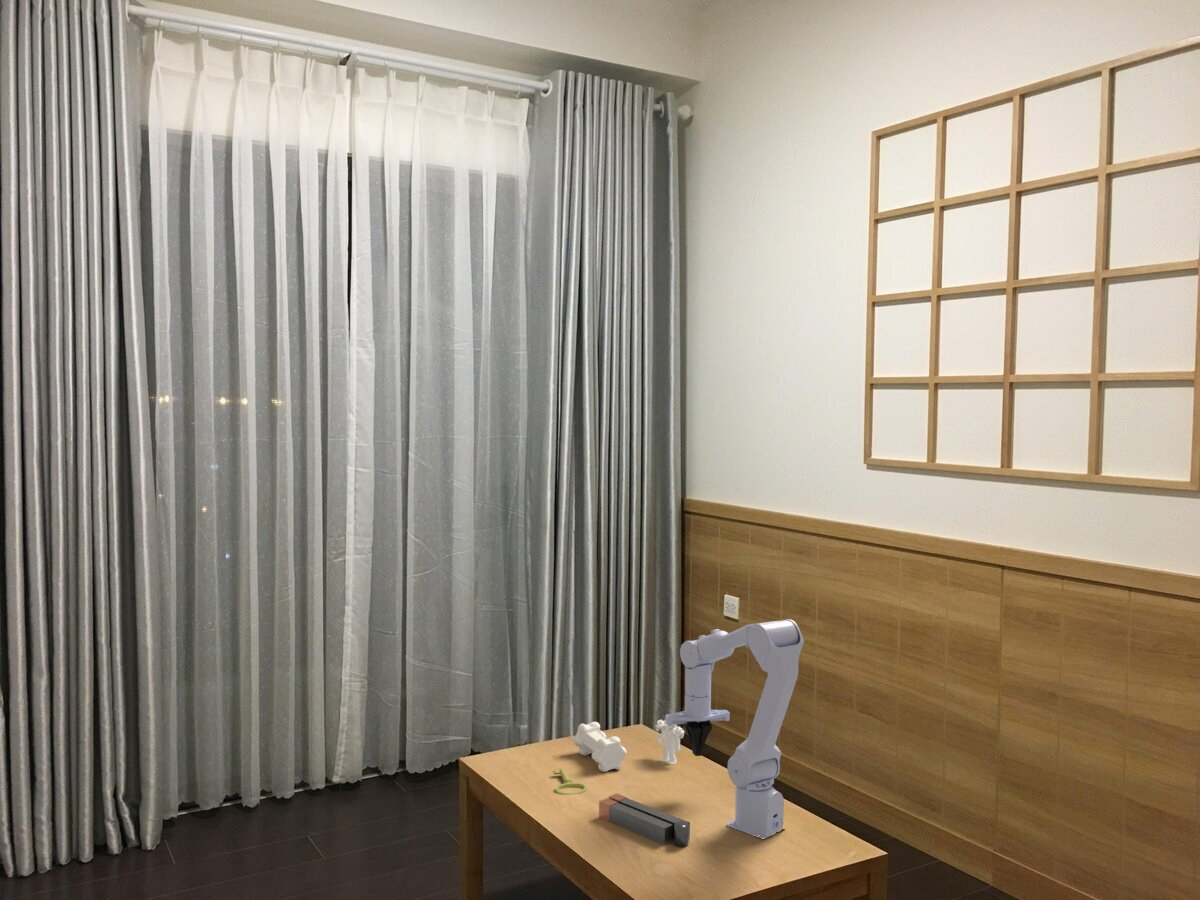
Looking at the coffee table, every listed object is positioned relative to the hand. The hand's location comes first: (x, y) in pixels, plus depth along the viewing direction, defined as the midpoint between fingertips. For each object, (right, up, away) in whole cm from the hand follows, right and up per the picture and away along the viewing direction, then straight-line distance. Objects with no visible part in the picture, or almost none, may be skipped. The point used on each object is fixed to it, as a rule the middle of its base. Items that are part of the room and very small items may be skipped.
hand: (697, 754), depth 214 cm
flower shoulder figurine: (-5, -9, +21) cm, 23 cm away
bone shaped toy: (-22, -9, +21) cm, 31 cm away
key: (-29, -10, +6) cm, 31 cm away
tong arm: (-12, -10, -17) cm, 23 cm away
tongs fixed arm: (-14, -10, -17) cm, 25 cm away
